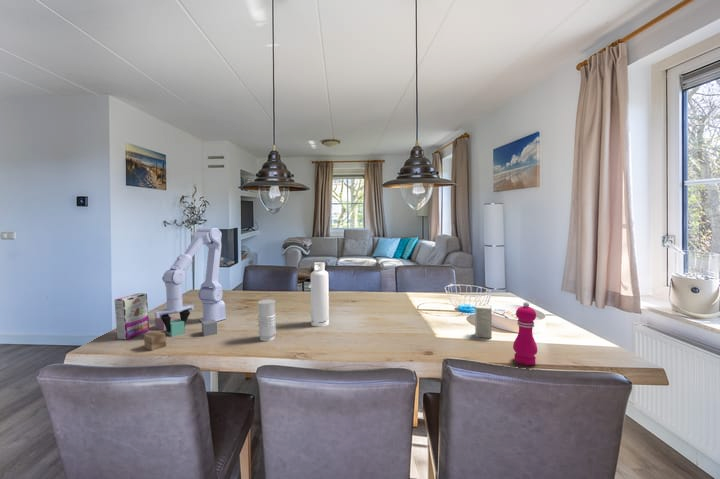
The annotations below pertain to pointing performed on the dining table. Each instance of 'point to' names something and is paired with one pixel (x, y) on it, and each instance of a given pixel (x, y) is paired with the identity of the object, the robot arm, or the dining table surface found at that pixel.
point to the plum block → (161, 322)
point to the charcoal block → (209, 327)
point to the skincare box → (483, 321)
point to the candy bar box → (131, 316)
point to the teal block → (176, 327)
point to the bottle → (319, 295)
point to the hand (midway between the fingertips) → (175, 330)
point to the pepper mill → (525, 336)
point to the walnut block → (155, 340)
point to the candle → (267, 320)
